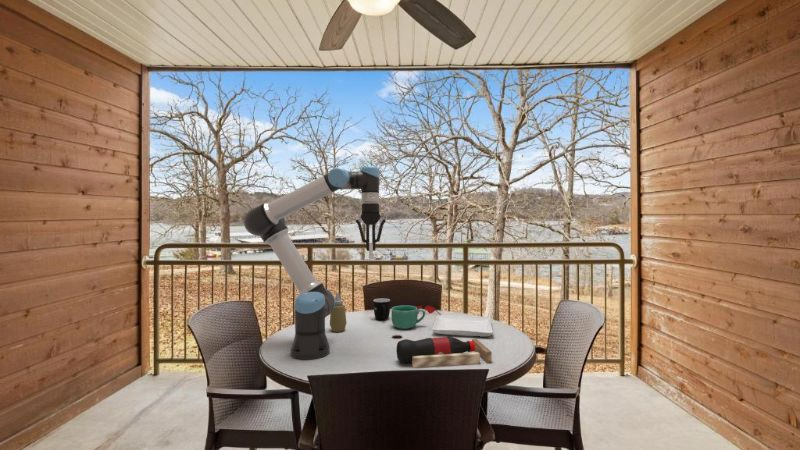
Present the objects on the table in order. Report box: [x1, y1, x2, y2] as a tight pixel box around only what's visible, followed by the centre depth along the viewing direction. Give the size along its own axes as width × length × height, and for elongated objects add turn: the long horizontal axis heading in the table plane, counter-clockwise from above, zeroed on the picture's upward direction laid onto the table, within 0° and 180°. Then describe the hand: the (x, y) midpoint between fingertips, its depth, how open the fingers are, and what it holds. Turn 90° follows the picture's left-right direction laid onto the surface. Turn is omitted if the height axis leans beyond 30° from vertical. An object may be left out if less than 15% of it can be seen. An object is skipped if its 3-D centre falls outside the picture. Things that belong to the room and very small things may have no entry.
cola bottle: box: [396, 335, 475, 364], centre depth 152 cm, size 8×8×30 cm
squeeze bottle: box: [329, 292, 348, 333], centre depth 192 cm, size 8×8×18 cm
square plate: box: [431, 314, 494, 338], centre depth 193 cm, size 27×27×4 cm
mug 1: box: [372, 297, 391, 322], centre depth 211 cm, size 12×9×10 cm
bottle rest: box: [411, 338, 493, 369], centre depth 155 cm, size 30×16×4 cm, turn 99°
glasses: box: [414, 304, 442, 315], centre depth 217 cm, size 14×16×5 cm
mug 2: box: [390, 304, 426, 330], centre depth 197 cm, size 17×13×10 cm
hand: (370, 258), depth 171 cm, fingers closed
